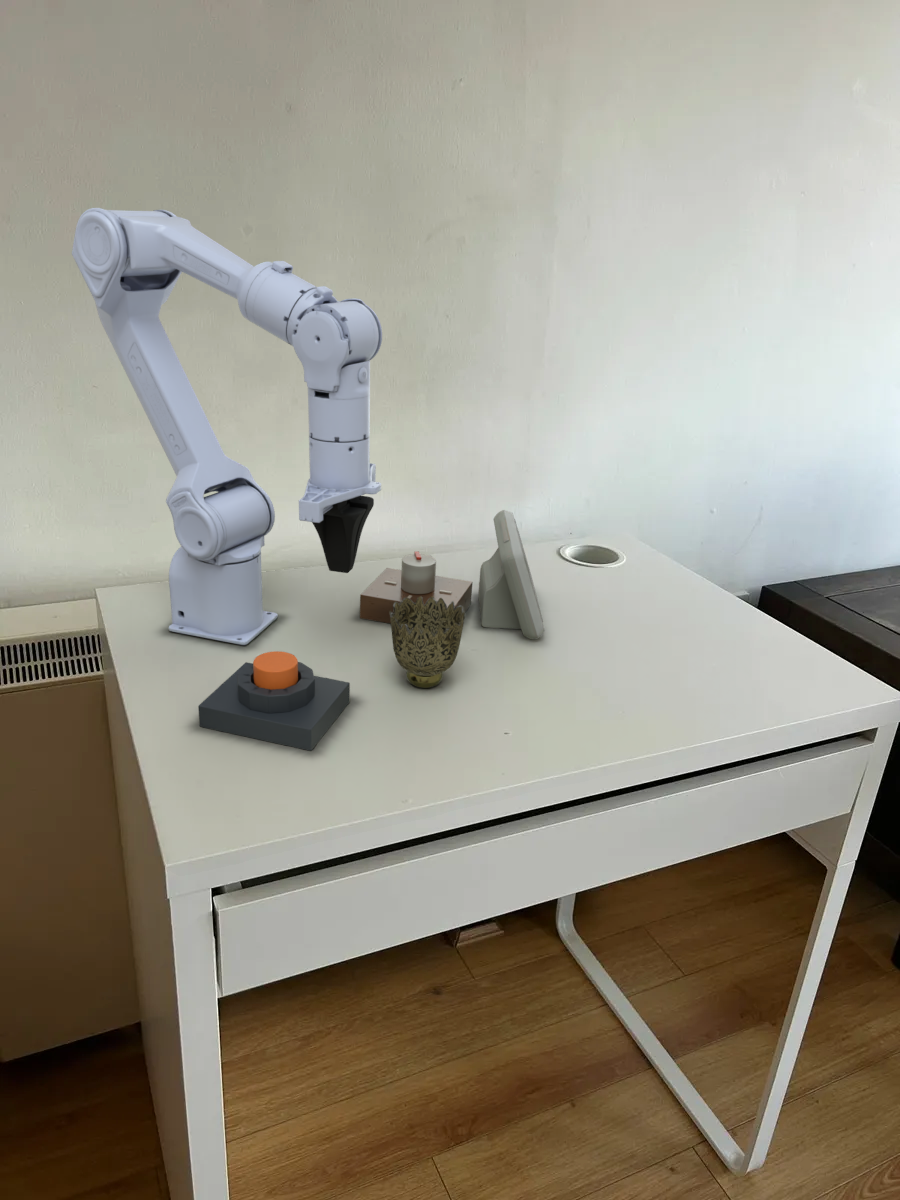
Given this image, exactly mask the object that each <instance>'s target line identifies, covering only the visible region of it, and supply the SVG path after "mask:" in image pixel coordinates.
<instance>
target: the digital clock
mask: <svg viewBox="0 0 900 1200" xmlns="http://www.w3.org/2000/svg"><path fill="white" fill-rule="evenodd" d="M493 525H494V531H495V536H496V542H497V549H496V550H495V551H494V553H493V554H492V556H491V557H490V558H489V559H487V560H486V561H483V562H482V563H481V566H480V569H479V570H480V571H479V581H478V594H477V595H478V605H479V615H480V624H481V626H482V627H484V628H487V629H488V628H489V629H490V628H492V629H510V630H511V629H512V630H521V632H522V636H524V637H525V638H528V639H530V640H537V639H539V638H540V637H541V636H542V635H543V633H544V632H545V631H546V629H545V625H544V620H543V615H542V612H541V608H540V603H539V600H538V597H537V593H536V588H535V584H534V580H533V577H532V576H533V575H532V573H531V570H530V565H529V561H528V559H527V556H526V552H525V549H524V546H523V542H522V538H521V535H520V531H519V527H518V523H517V521H516V518H515V516H514V513H513V512H511V511H508V510H506V509H502V510H500V511H498V512H497V513H496V515H495V516H494V517H493Z"/></svg>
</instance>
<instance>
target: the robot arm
mask: <svg viewBox="0 0 900 1200" xmlns="http://www.w3.org/2000/svg"><path fill="white" fill-rule="evenodd" d="M71 255H72V257H73V259H74V262H75V264H76V266H77V268H78V270H79V273H80V274H81V276H82V278H83V280H84V282H85V284H86V286H87V288H88V290H89V292H90V295H91V296H92V298H93V300H94V303H95V307H96V311H97V315H98V318H99V320H100V323H101V325H102V327H103V330H104V331H105V333H106V336H107V337H108V339H109V342H110V344H111V346H112V348H113V350H114V353H115V354H116V356H117V358H118V360H119V361H120V364H121V366H122V368H123V370H124V372H125V374H126V376H127V378H128V380H129V382H130V384H131V387H132V388H133V390H134V392H135V394H136V397H137V398H138V401H139V402H140V405H141V407H142V408H143V411H144V413H145V415H146V416H147V420H148V421H149V423H150V425H151V427H152V429H153V431H154V433H155V435H156V437H157V439H158V441H159V443H160V445H161V447H162V450H163V451H164V453H165V455H166V457H167V459H168V461H169V463H170V465H171V466H170V467H172V470H173V471H174V474H175V477H176V478H175V480H174V482H173V484H172V486H171V488H170V490H169V492H168V493H167V496H166V499H165V503H166V506H167V507H168V509H169V512H170V514H171V517H172V522H173V530H174V534H175V537H176V540H177V542H178V543H179V545H180V546H179V548H178V549H177V550H176V551H175V552H174V554H173V556H172V558H171V561H170V565H169V569H168V587H169V599H170V610H171V611H170V612H171V613H170V614H171V624H170V625H169V626H168V631H170V632H173V633H178V634H183V635H188V636H193V637H197V638H199V637H200V638H205V639H209V640H215V641H218V642H219V641H220V642H224V643H231V644H235V645H241V646H247V645H248V644H249V643H250V642H252V641H253V640H255V638H256V637H258V635H260V634H261V633H262V632H263V631H264V630H265V629H266V628H267V627H269V625H271V624H272V623H273V622H274V621H275V620H276V619H278V616H279V615H278V613H277V612H275V611H268V610H264V607H263V605H264V604H263V575H262V572H263V571H262V547H264V546H265V545H266V544H265V537H266V536H267V535H269V533H270V532H271V531H272V529H273V528H274V525H275V520H276V513H275V512H276V511H275V507H274V503H273V501H272V499H271V497H270V495H269V494H268V493H267V491H266V490H265V489H264V488H263V487H261V486H260V485H259V483H258V482H256V480H255V479H254V476H253V474H252V472H251V471H250V469H249V467H247V466H246V465H243V464H242V463H240V462H238V461H236V460H235V459H232V458H230V457H228V455H226V454H225V453H224V450H223V448H222V446H221V444H220V441H219V440H218V438H217V435H216V434H215V432H214V429H213V428H212V425H211V424H210V420H209V419H208V417H207V415H206V412H205V411H204V408H203V407H202V404H201V402H200V400H199V398H198V396H197V394H196V392H195V390H194V388H193V386H192V384H191V382H190V380H189V378H188V376H187V375H188V374H186V372H185V369H184V367H183V365H182V362H181V361H180V359H179V357H178V355H177V353H176V350H175V349H174V347H173V343H172V342H171V340H170V338H169V337H168V333H167V332H166V330H165V328H164V325H163V324H162V321H161V320H160V312H161V309H162V306H163V305H164V304H165V303H166V302H167V301H168V300H169V297H170V296H171V294H172V292H173V290H174V288H175V286H176V285H177V282H178V280H179V279H180V277H181V275H182V273H183V274H185V275H187V276H190V277H192V278H194V279H196V280H198V281H200V282H202V283H204V284H206V285H208V286H210V287H211V288H214V289H216V290H218V291H220V292H221V293H224V294H225V295H228V296H230V297H232V298H233V299H235V300H237V304H238V309H239V312H240V313H241V315H242V317H243V318H244V319H246V320H247V321H248V322H250V323H252V324H254V325H255V326H257V327H259V328H261V329H262V330H264V331H266V332H267V333H269V334H271V335H273V336H274V337H276V338H278V339H279V340H281V341H283V342H285V343H286V344H287V345H290V346H292V347H293V349H294V352H295V355H296V356H297V358H298V360H299V361H300V363H301V365H302V368H303V381H304V383H306V386H307V407H308V408H307V409H308V410H307V411H308V413H307V414H308V454H309V456H308V457H309V458H308V459H309V462H308V463H309V478H308V480H307V482H306V486H305V490H304V493H303V496H302V497H301V498H300V499H299V500H298V520H299V521H301V522H307V523H308V522H309V523H312V525H313V526H314V529H315V530H316V533H317V535H318V538H319V540H320V544H321V547H322V550H323V553H324V557H325V562H326V564H327V568H328V570H329V571H330V572H336V573H343V574H349V572H351V571H352V570H353V568H354V566H355V561H356V557H357V552H358V549H359V545H360V540H361V537H362V536H361V535H362V533H363V529H364V527H365V524H366V521H367V520H368V517H369V515H370V512H371V511H372V510H373V508H374V506H375V499H374V498H373V497H371V496H366V495H377V494H378V493H379V492H380V491H382V483H381V482H378V481H377V480H376V477H377V474H376V473H377V472H376V471H377V467H376V466H377V464H376V463H371V462H370V459H371V458H370V456H371V451H370V450H371V360H373V359H374V358H375V357H376V355H377V354H378V353H379V351H380V349H381V346H382V341H383V328H382V325H381V321H380V318H379V317H378V315H377V314H376V312H375V311H374V310H373V309H372V308H371V307H370V306H369V305H367V304H366V303H365V301H364V300H362V299H361V298H356V297H354V298H352V297H351V298H345V299H342V300H340V301H339V300H338V299H337V298H336V297H335V296H334V291H333V289H331V288H329V287H328V286H326V285H321V286H316V285H314V284H313V283H311V282H309V281H307V280H306V279H304V278H302V277H300V276H298V275H297V274H295V273H293V270H294V266H293V265H292V264H290V263H289V262H287V261H285V260H275V261H274V260H273V261H264V262H261V263H258V264H256V265H252V264H251V263H249V262H248V261H246V260H245V259H243V258H242V257H240V256H239V255H237V254H236V253H234V252H233V251H231V250H229V249H228V248H227V247H225V246H224V245H222V244H220V243H219V242H217V241H215V240H214V239H212V238H211V237H209V236H208V235H206V234H205V233H203V232H202V231H200V230H199V229H197V228H195V227H194V226H193V225H192V223H191V221H190V219H187V218H184V217H181V216H177V215H176V214H174V212H172V211H169V210H166V209H154V210H127V209H126V210H124V209H105V208H101V207H91V208H88V209H86V210H85V211H84V212H83V213H81V215H80V216H79V218H78V219H77V223H76V226H75V230H74V238H73V243H72V250H71ZM209 493H212V494H209ZM206 494H209V495H206ZM204 495H206V496H204Z"/></svg>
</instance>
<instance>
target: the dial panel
mask: <svg viewBox="0 0 900 1200" xmlns="http://www.w3.org/2000/svg"><path fill="white" fill-rule="evenodd" d="M472 592H473V581H471V580H464V579H458V578H452V577H447V576H442V575H441V576H439V575H435V589H434V591H432V592H430V593H427V594H412V593H408V592H405V591H404V590H402V588H401V569H397V568H391V567H386V568H385V569H383V571H382V572H381V573H380V574H379V575H378V576H377V577H376V578H375V579H374V580H373V581H372V582H371V583H370V584H369V585H368V586H367V587H366V588H365V589H364V590H363V591H362V592H361V593H360V595H359V596H360V597H359V619H363V620H368V621H373V622H378V623H385V624H390V625H391V620H390V613H389V612H390V611H391V613H393V604H394V602H398V603H399V604H400V602H401V601H402V600H403V599H404V598H405V597H407V598H409V599H411V600H412V602H413V603H414V602H415V603H416V600H417V598H418V597H420V596H421V597H422V600H423V603H424V605H425V604H426V602H427V600H428V599H429V598H430V597H432V596H433V597H434V598H435V600H436V601H438V600H439V598H442V599H443V600H444V602H445V603H446V605H447V607H448V606H449V604H450V603H451V602H452V601H453V602H454V605H455V608H456V607H457V606H463V612H465V613H467V612H468V611H467V610H468V609H469V608H470V606H471V605H472V595H473V593H472Z"/></svg>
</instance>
